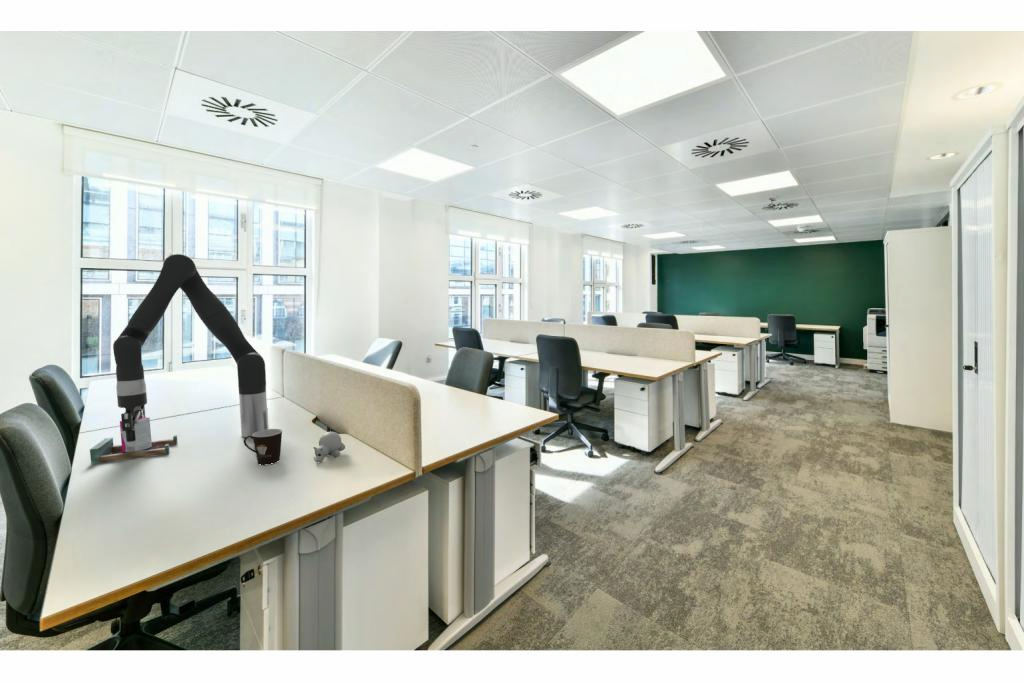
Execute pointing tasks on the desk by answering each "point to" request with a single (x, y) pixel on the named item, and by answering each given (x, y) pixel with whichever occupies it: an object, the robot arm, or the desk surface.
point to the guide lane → (105, 448)
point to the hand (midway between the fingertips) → (135, 437)
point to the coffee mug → (266, 445)
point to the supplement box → (138, 437)
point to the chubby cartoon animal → (328, 446)
